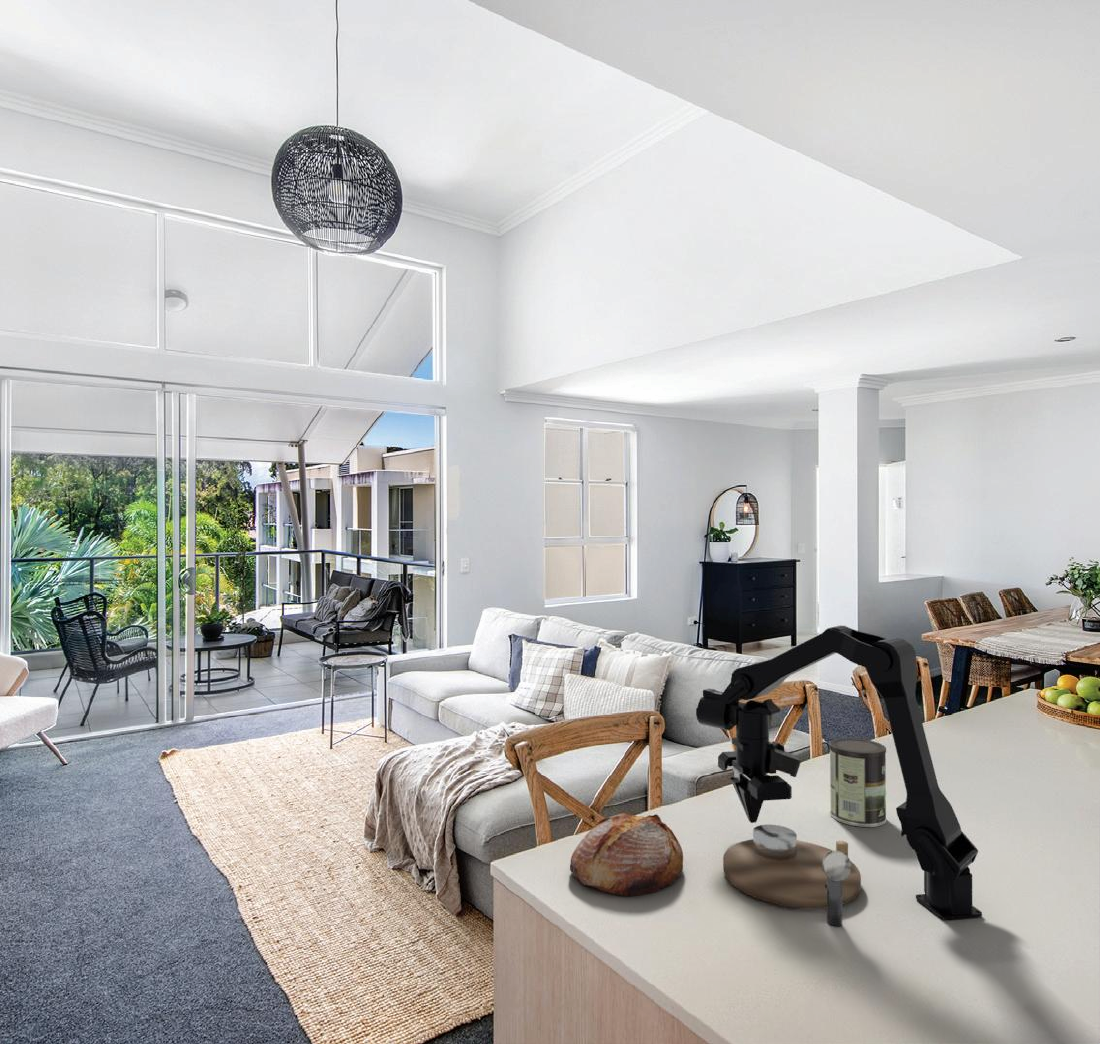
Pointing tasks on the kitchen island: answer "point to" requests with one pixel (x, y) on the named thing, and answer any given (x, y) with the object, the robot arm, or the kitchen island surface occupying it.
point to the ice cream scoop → (835, 884)
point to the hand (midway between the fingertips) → (752, 822)
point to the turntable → (787, 875)
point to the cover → (775, 842)
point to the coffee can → (858, 782)
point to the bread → (628, 855)
